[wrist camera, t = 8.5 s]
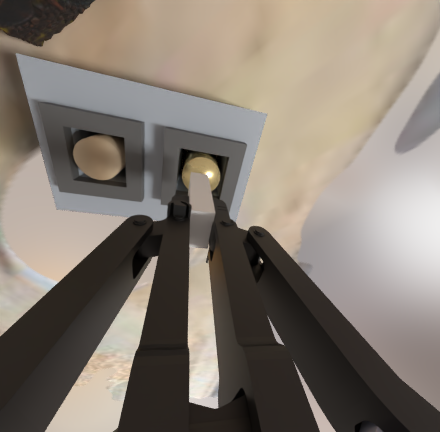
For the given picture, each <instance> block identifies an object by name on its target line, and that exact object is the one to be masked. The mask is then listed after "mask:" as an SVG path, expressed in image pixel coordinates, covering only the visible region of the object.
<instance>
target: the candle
mask: <svg viewBox="0 0 440 432" xmlns="http://www.w3.org/2000/svg"><path fill="white" fill-rule="evenodd" d="M93 1H95V0H0V29H2V30H3V31H4V32H5V33H6V34H7V35H9V36H12V37H17V38H21V39H22V40H23V41H25V40H26V41H27V42H29V43H32V44H33V45H36V46H43V43H44V40H45V41H47V40H49V39H51V37H52V36H53V34H57V33H60V32H61V31H62V29H63V28H64V27H65V26H67V25H68V24H70V23H71V22H73V21H74V20H75V19H76V17H77V16H78V15H79V14H82V13H83V12H84V10H85V9H87V8H89V7H90V4H91V3H92V2H93Z"/></svg>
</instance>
